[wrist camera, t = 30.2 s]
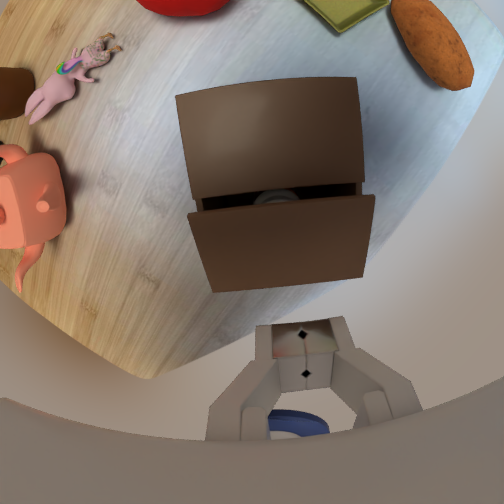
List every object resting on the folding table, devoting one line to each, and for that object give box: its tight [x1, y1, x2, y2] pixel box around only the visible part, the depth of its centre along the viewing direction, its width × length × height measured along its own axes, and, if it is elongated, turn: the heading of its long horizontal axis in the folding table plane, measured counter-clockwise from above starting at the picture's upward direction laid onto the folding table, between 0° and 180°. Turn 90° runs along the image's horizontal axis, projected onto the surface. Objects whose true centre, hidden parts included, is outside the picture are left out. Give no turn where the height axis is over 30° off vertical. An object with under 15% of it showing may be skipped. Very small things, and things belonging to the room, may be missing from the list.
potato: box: [391, 0, 474, 91], centre depth 19 cm, size 7×13×7 cm, turn 26°
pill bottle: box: [253, 188, 300, 205], centre depth 27 cm, size 5×5×8 cm
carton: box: [175, 77, 365, 212], centre depth 24 cm, size 15×12×12 cm
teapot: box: [0, 144, 67, 292], centre depth 26 cm, size 14×14×11 cm
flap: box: [187, 194, 375, 293], centre depth 20 cm, size 7×12×1 cm, turn 97°
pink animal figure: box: [25, 32, 122, 125], centre depth 22 cm, size 6×6×15 cm
